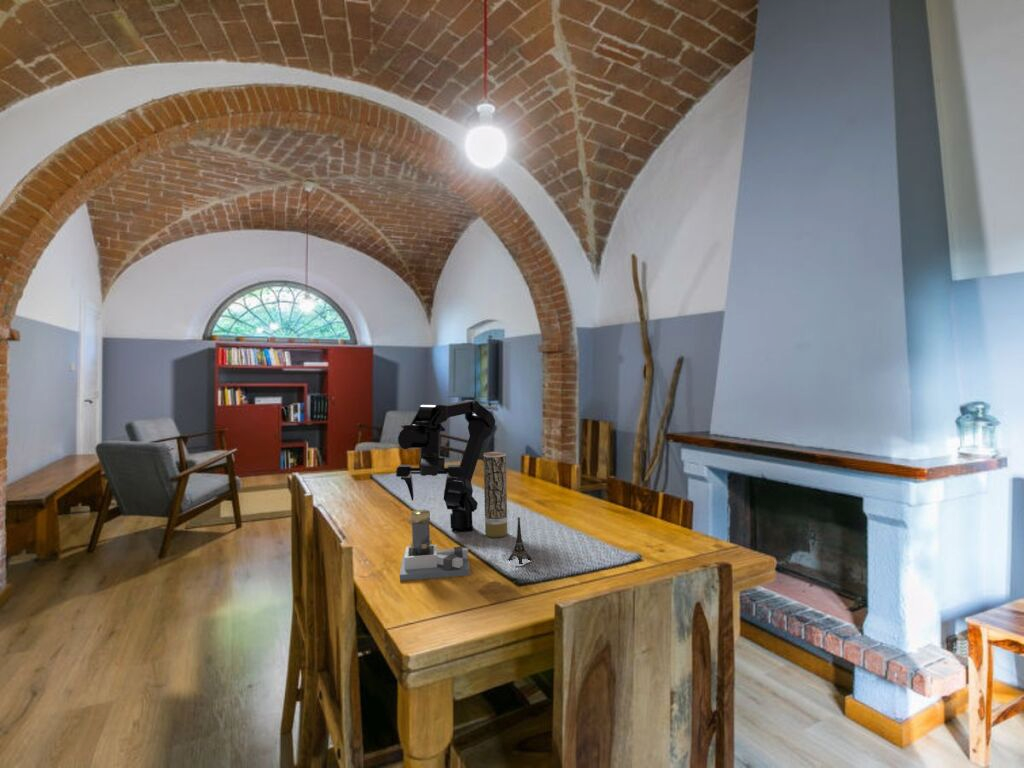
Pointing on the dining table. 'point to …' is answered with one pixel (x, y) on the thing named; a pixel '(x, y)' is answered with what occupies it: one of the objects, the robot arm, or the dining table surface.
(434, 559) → the shaft stand
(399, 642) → the dining table surface
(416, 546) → the coupling
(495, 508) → the brown textured cylinder
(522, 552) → the eiffel tower figurine
